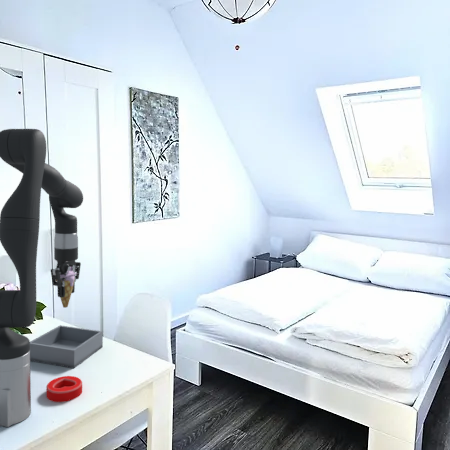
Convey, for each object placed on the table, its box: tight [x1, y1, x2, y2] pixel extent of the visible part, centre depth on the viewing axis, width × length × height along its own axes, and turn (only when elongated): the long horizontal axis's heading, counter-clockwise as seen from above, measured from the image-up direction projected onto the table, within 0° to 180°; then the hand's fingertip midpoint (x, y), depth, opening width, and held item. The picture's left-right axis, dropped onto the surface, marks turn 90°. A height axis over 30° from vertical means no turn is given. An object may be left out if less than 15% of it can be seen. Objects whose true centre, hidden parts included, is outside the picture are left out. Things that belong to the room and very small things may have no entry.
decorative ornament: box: [45, 375, 83, 403], centre depth 121 cm, size 10×10×3 cm
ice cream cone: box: [56, 266, 77, 308], centre depth 144 cm, size 7×6×15 cm
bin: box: [29, 324, 104, 369], centre depth 147 cm, size 18×18×6 cm
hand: (66, 294), depth 144 cm, fingers closed on ice cream cone, 5 cm apart
